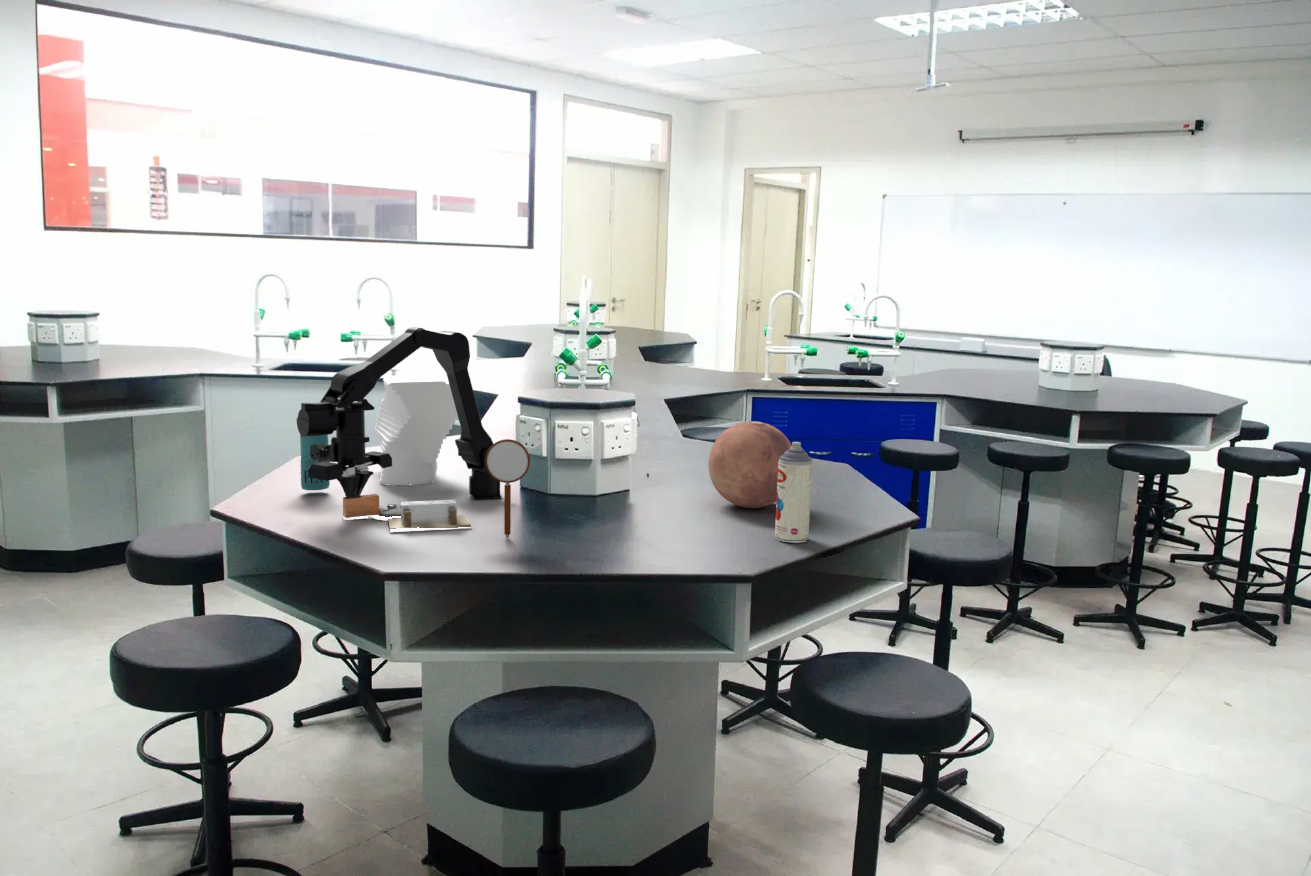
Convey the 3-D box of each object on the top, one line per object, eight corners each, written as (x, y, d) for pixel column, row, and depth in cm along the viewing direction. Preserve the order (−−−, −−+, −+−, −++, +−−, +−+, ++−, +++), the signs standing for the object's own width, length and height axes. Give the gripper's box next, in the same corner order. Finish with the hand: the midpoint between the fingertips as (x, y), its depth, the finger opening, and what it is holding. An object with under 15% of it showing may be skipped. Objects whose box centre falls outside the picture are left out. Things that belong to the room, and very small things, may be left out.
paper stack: (373, 489, 228) (371, 382, 224) (374, 468, 254) (372, 371, 250) (463, 487, 234) (462, 382, 230) (455, 466, 260) (455, 371, 256)
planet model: (799, 501, 229) (803, 418, 226) (787, 521, 210) (792, 431, 207) (716, 494, 234) (720, 413, 231) (698, 512, 215) (701, 424, 212)
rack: (466, 519, 203) (466, 501, 202) (471, 529, 196) (471, 510, 195) (388, 523, 198) (387, 504, 198) (390, 533, 191) (389, 513, 190)
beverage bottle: (299, 497, 219) (296, 410, 215) (302, 491, 225) (299, 406, 222) (329, 496, 220) (327, 410, 217) (331, 490, 227) (329, 406, 223)
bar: (455, 518, 200) (454, 499, 199) (456, 522, 197) (456, 503, 196) (400, 520, 196) (400, 501, 196) (401, 524, 193) (401, 505, 193)
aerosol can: (772, 534, 198) (777, 439, 195) (805, 535, 198) (810, 440, 195) (776, 543, 191) (781, 445, 188) (810, 544, 191) (816, 445, 188)
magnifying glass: (529, 538, 190) (530, 438, 187) (529, 540, 188) (529, 440, 185) (485, 537, 189) (485, 438, 186) (484, 539, 188) (484, 439, 184)
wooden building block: (340, 515, 201) (339, 495, 200) (400, 508, 208) (400, 489, 207) (349, 522, 196) (348, 501, 195) (410, 514, 203) (410, 494, 203)
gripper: (354, 423, 211) (356, 492, 214) (287, 434, 195) (290, 509, 197) (393, 428, 206) (394, 498, 209) (327, 440, 190) (329, 516, 192)
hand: (352, 505), depth 202 cm, fingers closed
